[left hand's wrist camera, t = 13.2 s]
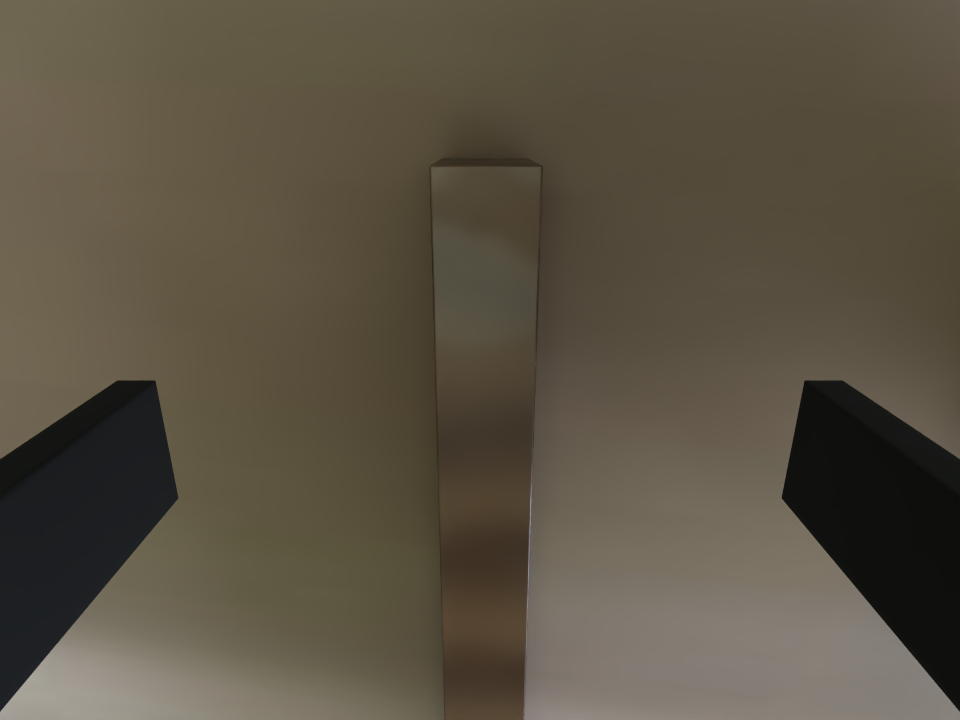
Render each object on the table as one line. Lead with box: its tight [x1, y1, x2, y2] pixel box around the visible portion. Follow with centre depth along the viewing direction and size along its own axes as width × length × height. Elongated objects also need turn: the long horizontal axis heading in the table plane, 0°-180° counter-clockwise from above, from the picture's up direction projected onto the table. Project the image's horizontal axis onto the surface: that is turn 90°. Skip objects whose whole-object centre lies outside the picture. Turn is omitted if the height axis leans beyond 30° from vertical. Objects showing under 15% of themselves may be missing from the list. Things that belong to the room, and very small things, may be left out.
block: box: [430, 159, 543, 720], centre depth 41 cm, size 59×5×8 cm, turn 0°
